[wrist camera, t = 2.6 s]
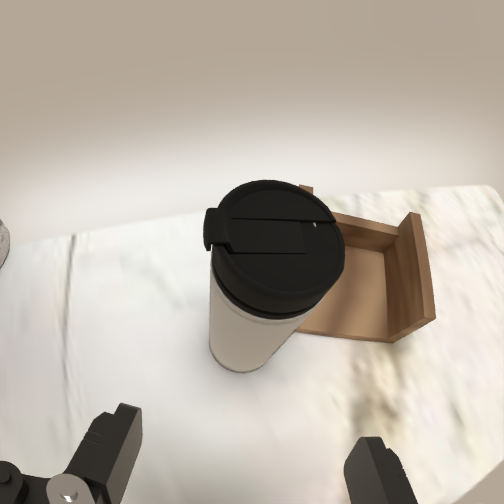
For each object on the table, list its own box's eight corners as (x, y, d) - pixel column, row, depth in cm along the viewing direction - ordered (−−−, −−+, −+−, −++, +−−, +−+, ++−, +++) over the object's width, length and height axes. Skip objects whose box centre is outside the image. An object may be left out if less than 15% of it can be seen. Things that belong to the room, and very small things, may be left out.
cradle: (271, 328, 31) (291, 298, 24) (282, 230, 38) (299, 184, 31) (392, 342, 32) (435, 318, 25) (387, 252, 38) (420, 214, 31)
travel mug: (204, 313, 31) (203, 168, 14) (269, 311, 32) (337, 173, 15) (207, 374, 28) (204, 297, 11) (276, 370, 29) (372, 289, 12)
